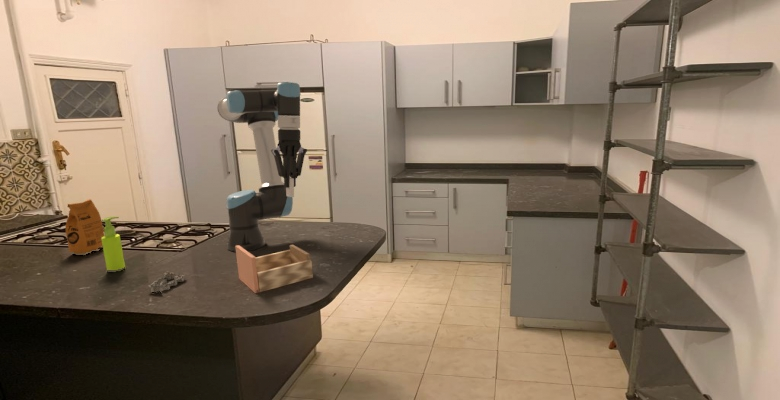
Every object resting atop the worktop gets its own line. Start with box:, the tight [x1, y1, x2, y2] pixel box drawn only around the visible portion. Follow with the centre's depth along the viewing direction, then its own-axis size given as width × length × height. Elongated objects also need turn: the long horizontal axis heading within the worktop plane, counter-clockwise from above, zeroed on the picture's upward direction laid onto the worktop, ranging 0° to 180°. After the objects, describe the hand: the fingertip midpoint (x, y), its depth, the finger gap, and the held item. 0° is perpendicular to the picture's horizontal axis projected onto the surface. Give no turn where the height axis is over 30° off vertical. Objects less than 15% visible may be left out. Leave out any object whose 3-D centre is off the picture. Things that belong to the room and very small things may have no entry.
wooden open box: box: [255, 244, 314, 293], centre depth 150 cm, size 18×16×9 cm
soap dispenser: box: [101, 216, 126, 271], centre depth 166 cm, size 6×7×20 cm
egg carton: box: [147, 270, 186, 294], centre depth 148 cm, size 11×8×4 cm
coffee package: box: [65, 198, 105, 253], centre depth 190 cm, size 10×12×22 cm
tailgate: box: [235, 245, 260, 294], centre depth 144 cm, size 1×16×12 cm, turn 35°
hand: (290, 196), depth 158 cm, fingers closed
